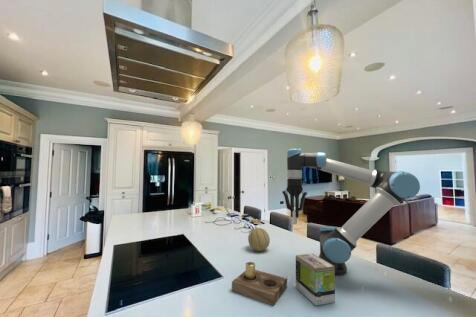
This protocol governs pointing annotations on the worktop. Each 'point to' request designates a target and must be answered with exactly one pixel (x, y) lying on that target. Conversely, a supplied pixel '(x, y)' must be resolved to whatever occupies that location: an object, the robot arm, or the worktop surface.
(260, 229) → the cantaloupe
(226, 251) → the worktop surface
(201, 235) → the worktop surface
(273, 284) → the jig
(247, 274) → the bushing
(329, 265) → the tea box
